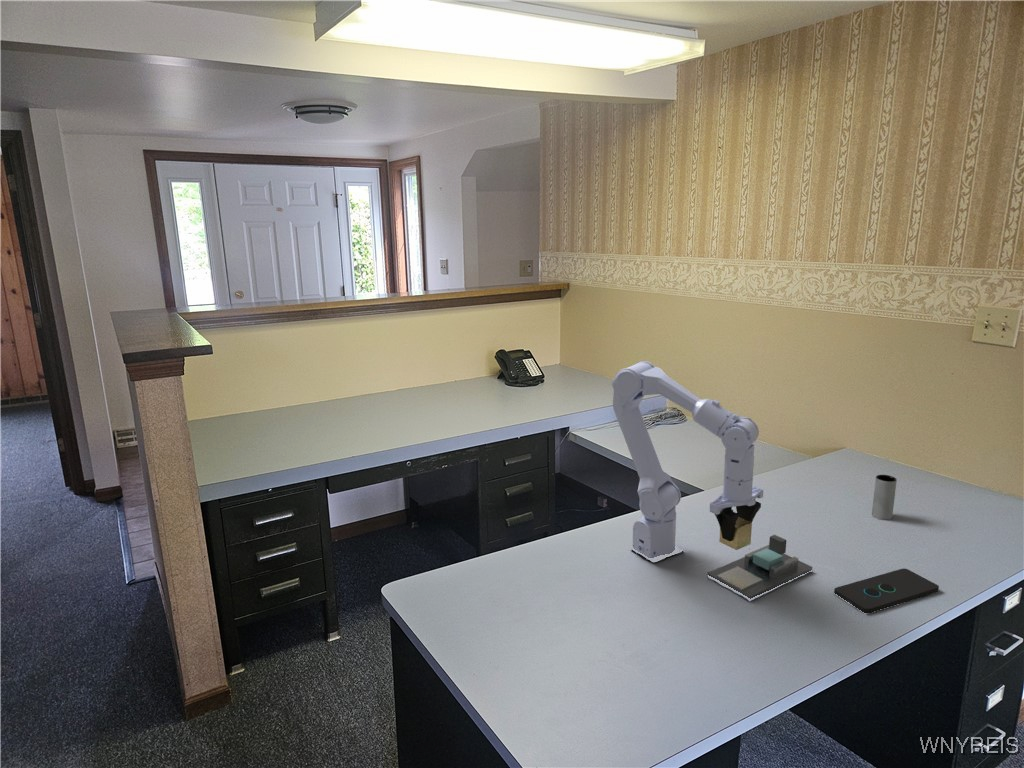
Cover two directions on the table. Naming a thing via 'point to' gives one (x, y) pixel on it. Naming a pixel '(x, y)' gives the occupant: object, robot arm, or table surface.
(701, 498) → the table surface
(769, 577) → the press bed
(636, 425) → the robot arm
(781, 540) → the teal and grey block
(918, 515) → the table surface
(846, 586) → the smart home device
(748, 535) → the block
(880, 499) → the grey cylinder
